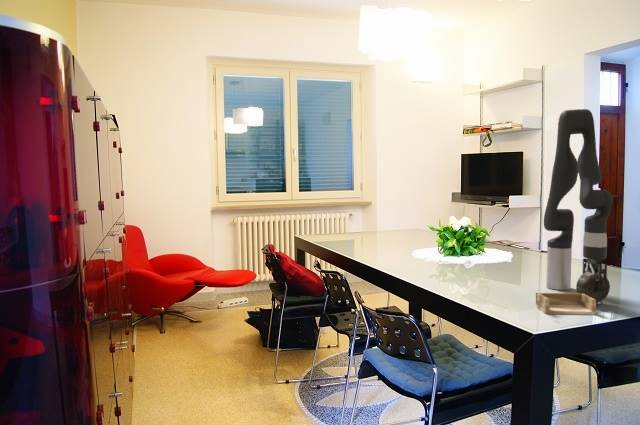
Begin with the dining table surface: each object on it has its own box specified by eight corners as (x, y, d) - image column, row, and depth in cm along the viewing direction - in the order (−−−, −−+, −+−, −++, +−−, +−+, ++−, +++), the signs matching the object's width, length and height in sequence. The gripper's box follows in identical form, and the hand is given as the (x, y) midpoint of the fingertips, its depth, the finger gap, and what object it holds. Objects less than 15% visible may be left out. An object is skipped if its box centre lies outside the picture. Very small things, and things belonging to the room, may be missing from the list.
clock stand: (535, 306, 182) (535, 292, 182) (583, 307, 181) (583, 293, 180) (545, 313, 172) (545, 299, 172) (595, 314, 171) (596, 300, 171)
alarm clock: (601, 302, 188) (602, 258, 187) (612, 305, 183) (613, 261, 181) (575, 303, 186) (576, 259, 185) (584, 307, 181) (586, 262, 180)
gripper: (575, 242, 190) (575, 285, 191) (592, 247, 176) (591, 293, 177) (596, 242, 190) (595, 285, 191) (615, 247, 175) (614, 294, 176)
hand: (593, 289), depth 184 cm, fingers open, 7 cm apart
